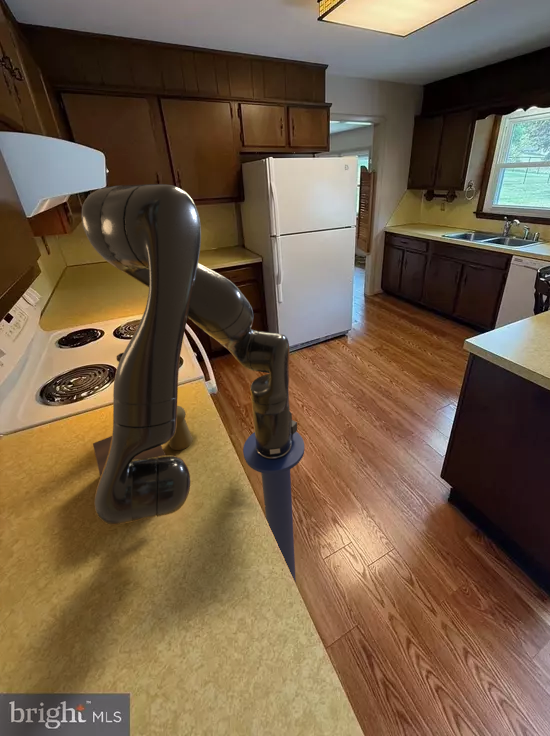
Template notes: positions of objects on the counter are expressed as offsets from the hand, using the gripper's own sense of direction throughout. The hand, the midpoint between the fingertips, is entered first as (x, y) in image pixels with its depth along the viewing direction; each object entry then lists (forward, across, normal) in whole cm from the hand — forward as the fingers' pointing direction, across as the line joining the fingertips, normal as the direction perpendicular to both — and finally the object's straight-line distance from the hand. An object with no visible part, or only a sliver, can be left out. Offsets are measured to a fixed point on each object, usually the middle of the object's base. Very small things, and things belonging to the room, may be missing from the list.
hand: (142, 490), depth 69 cm
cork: (+16, -12, -7) cm, 22 cm away
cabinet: (+12, 0, -3) cm, 12 cm away
